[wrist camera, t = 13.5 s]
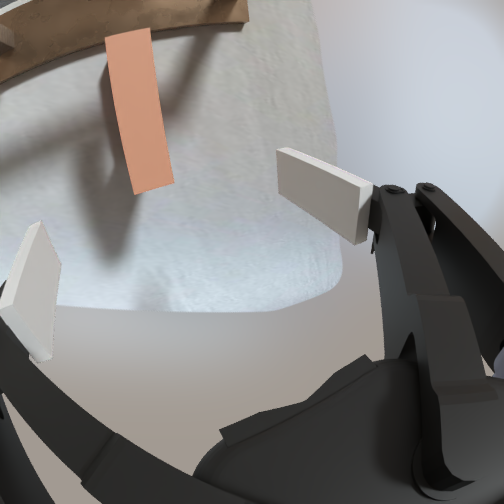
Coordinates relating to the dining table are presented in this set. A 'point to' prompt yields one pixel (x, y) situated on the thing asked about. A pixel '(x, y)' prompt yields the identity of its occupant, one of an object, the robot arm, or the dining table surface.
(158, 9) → the stand
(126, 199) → the dining table surface
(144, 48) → the c link
